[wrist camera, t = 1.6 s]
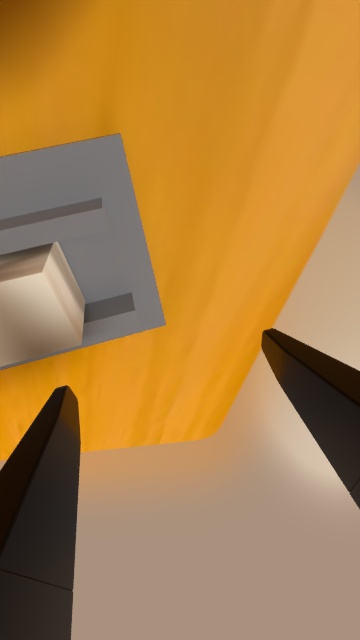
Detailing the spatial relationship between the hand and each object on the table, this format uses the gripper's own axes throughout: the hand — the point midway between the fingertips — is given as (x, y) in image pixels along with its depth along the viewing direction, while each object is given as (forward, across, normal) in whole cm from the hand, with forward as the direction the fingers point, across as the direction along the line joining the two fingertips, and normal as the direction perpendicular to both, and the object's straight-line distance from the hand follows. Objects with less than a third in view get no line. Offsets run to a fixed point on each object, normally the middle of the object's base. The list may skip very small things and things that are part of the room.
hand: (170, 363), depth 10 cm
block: (+11, +7, 0) cm, 13 cm away
